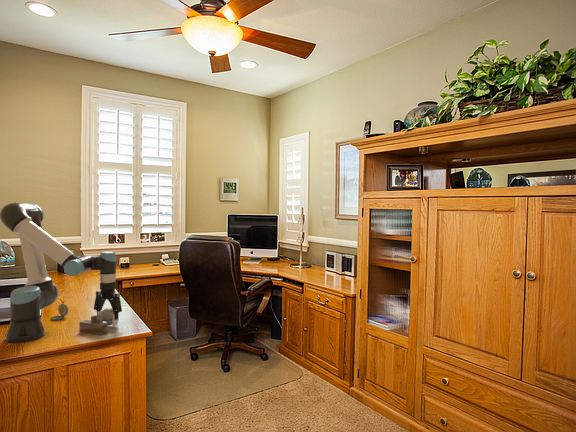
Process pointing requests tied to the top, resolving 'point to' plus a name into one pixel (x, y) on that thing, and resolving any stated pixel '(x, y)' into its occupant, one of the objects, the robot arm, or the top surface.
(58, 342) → the top surface
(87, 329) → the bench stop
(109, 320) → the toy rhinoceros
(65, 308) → the pocket watch
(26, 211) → the robot arm
